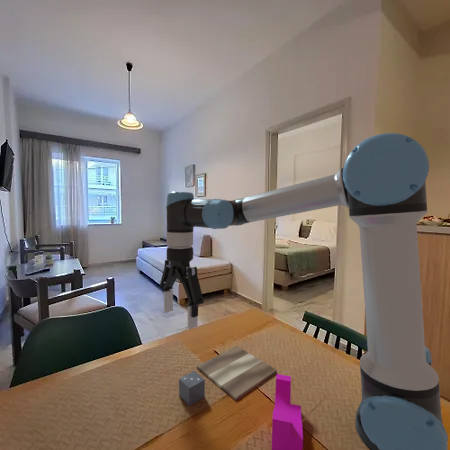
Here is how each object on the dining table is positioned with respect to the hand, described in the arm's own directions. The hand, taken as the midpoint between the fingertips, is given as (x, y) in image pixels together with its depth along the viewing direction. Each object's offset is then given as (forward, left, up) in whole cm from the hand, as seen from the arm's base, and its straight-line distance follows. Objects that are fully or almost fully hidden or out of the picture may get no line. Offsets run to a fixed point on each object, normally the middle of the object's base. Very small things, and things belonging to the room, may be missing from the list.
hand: (179, 319), depth 74 cm
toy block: (-30, -11, -19) cm, 37 cm away
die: (-7, +1, -19) cm, 21 cm away
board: (-7, -16, -19) cm, 26 cm away
